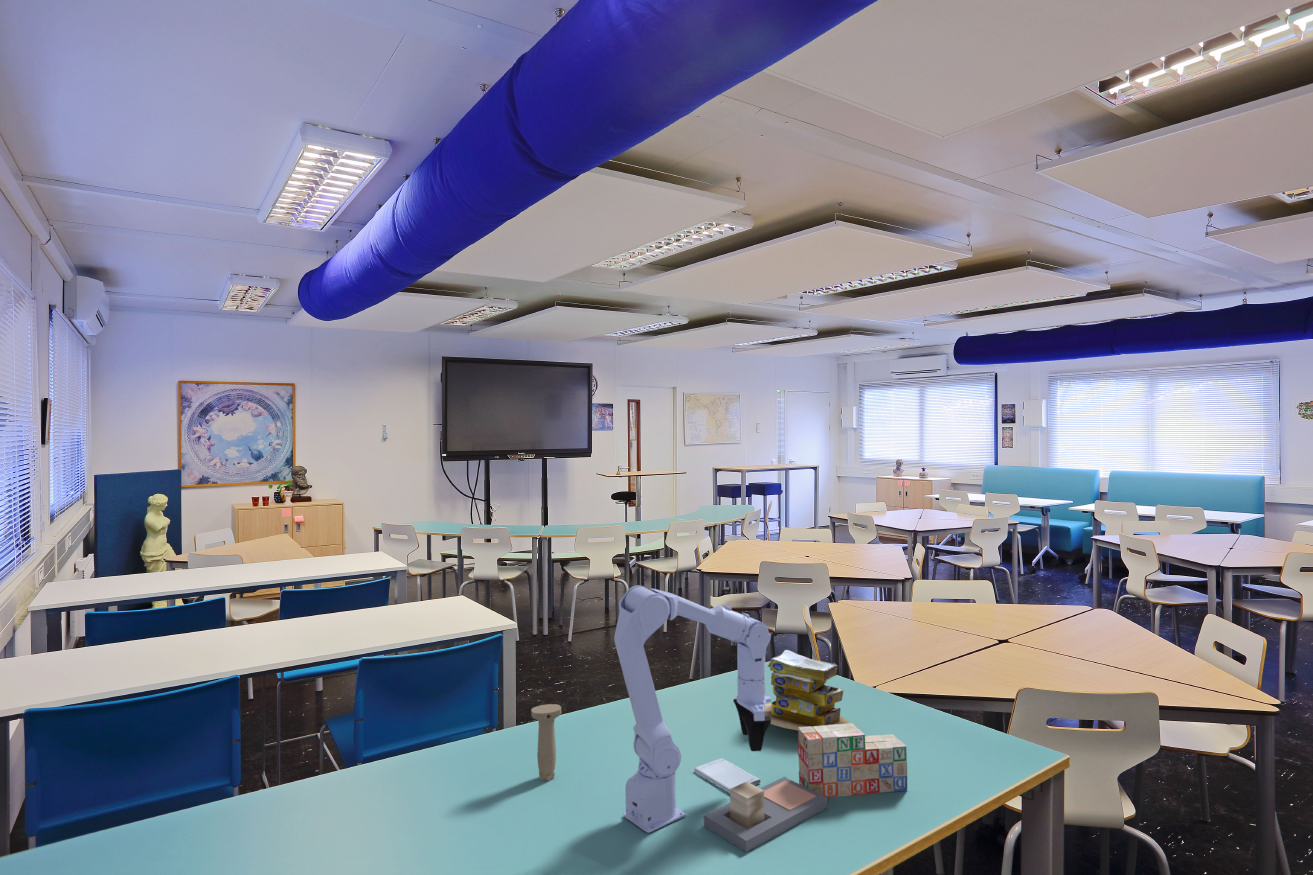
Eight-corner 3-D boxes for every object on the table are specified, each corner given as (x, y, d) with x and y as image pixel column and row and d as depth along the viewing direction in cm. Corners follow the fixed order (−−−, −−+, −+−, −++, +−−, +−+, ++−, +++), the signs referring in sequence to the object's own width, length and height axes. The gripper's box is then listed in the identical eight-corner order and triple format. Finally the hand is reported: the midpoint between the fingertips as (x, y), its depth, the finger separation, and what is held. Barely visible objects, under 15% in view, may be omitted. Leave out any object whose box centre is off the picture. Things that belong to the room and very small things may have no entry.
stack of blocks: (893, 776, 148) (893, 719, 148) (908, 791, 141) (907, 731, 141) (798, 784, 145) (797, 725, 145) (808, 799, 139) (807, 738, 139)
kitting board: (746, 852, 121) (746, 839, 121) (704, 825, 129) (703, 813, 129) (827, 807, 135) (827, 796, 135) (784, 786, 144) (784, 775, 144)
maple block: (747, 836, 125) (747, 798, 126) (730, 825, 129) (730, 788, 129) (764, 827, 128) (764, 790, 128) (746, 817, 132) (746, 781, 132)
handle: (530, 775, 149) (529, 706, 150) (559, 770, 152) (558, 702, 152) (534, 785, 145) (533, 714, 145) (563, 780, 147) (563, 710, 147)
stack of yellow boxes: (787, 698, 193) (786, 639, 193) (867, 723, 175) (866, 658, 175) (731, 724, 176) (730, 659, 176) (814, 754, 158) (813, 682, 158)
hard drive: (760, 778, 145) (722, 756, 155) (731, 790, 140) (694, 766, 150) (760, 786, 145) (722, 764, 155) (731, 798, 140) (694, 774, 150)
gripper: (779, 688, 135) (779, 756, 135) (761, 664, 150) (762, 726, 150) (744, 689, 135) (744, 758, 134) (730, 665, 149) (730, 728, 149)
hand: (751, 742), depth 142 cm, fingers open, 7 cm apart
